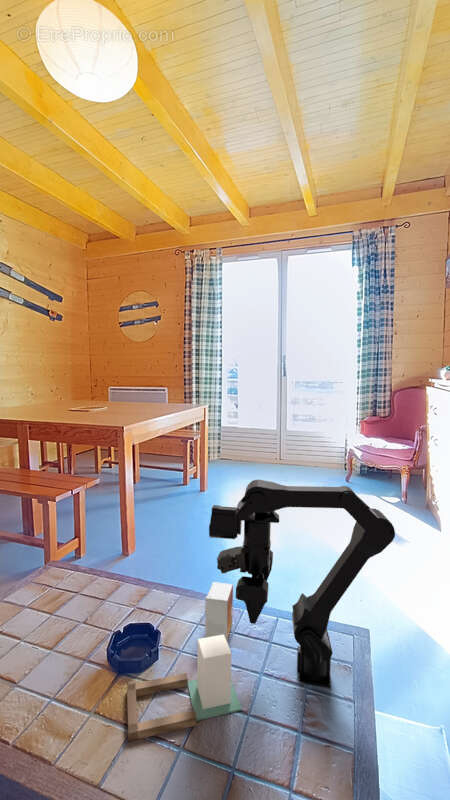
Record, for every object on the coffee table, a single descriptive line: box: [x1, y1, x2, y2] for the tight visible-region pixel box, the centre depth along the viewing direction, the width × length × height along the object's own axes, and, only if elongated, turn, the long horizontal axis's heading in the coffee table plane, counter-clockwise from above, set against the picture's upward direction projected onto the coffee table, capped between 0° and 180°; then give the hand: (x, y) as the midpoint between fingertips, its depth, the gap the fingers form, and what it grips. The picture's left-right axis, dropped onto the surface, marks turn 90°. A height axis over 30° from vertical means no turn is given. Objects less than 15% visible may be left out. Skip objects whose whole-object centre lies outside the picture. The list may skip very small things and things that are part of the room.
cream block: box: [196, 635, 233, 709], centre depth 73 cm, size 6×6×10 cm
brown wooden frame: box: [126, 672, 197, 742], centre depth 71 cm, size 12×11×2 cm
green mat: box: [187, 679, 243, 722], centre depth 73 cm, size 9×9×1 cm
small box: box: [204, 581, 234, 642], centre depth 93 cm, size 8×6×10 cm
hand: (255, 609), depth 81 cm, fingers open, 9 cm apart
